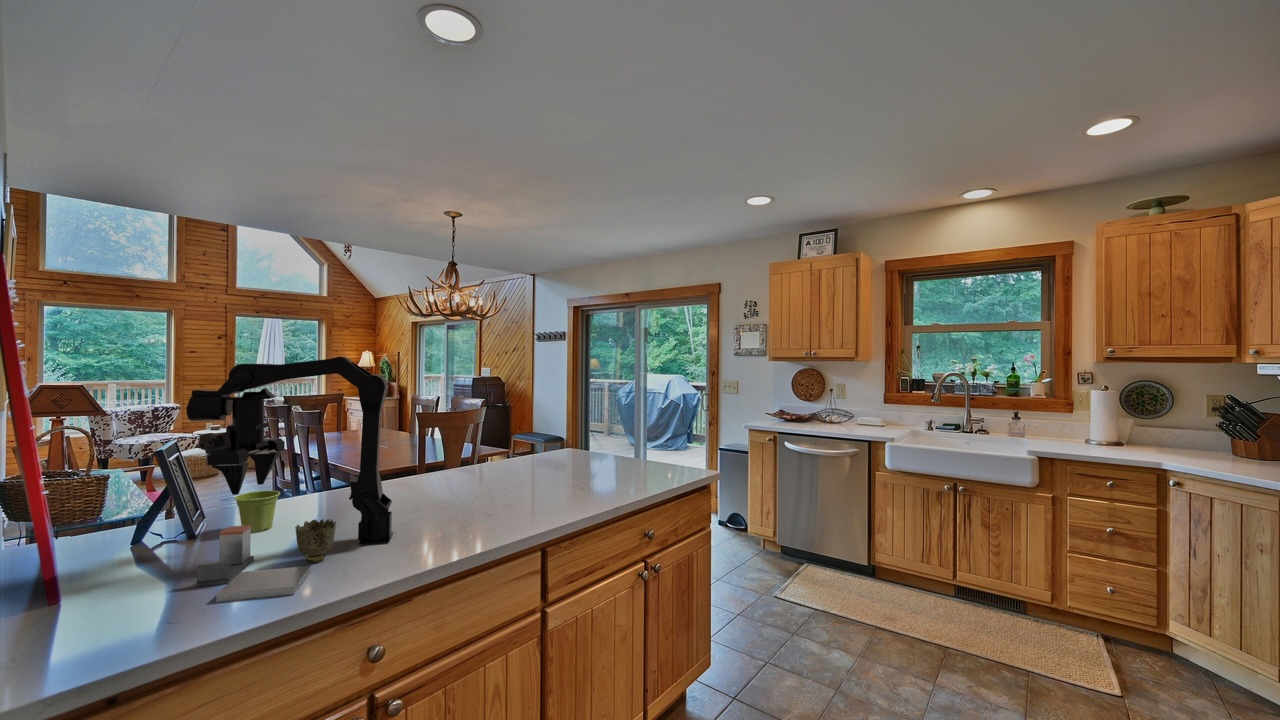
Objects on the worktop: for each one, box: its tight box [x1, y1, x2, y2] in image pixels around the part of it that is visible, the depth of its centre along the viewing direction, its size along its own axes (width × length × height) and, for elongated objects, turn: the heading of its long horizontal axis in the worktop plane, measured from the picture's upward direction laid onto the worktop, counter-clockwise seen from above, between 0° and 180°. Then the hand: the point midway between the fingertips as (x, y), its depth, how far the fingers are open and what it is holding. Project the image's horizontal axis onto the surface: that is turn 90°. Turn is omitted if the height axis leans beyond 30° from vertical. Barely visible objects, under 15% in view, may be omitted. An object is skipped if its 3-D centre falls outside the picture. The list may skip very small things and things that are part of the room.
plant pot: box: [233, 490, 281, 534], centre depth 132 cm, size 9×9×9 cm
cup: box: [294, 518, 337, 564], centre depth 112 cm, size 8×7×8 cm
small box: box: [218, 525, 252, 564], centre depth 109 cm, size 4×4×7 cm
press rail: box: [196, 555, 255, 587], centre depth 106 cm, size 5×12×4 cm, turn 17°
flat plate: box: [216, 565, 312, 603], centre depth 99 cm, size 12×10×2 cm
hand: (248, 489), depth 117 cm, fingers open, 9 cm apart
